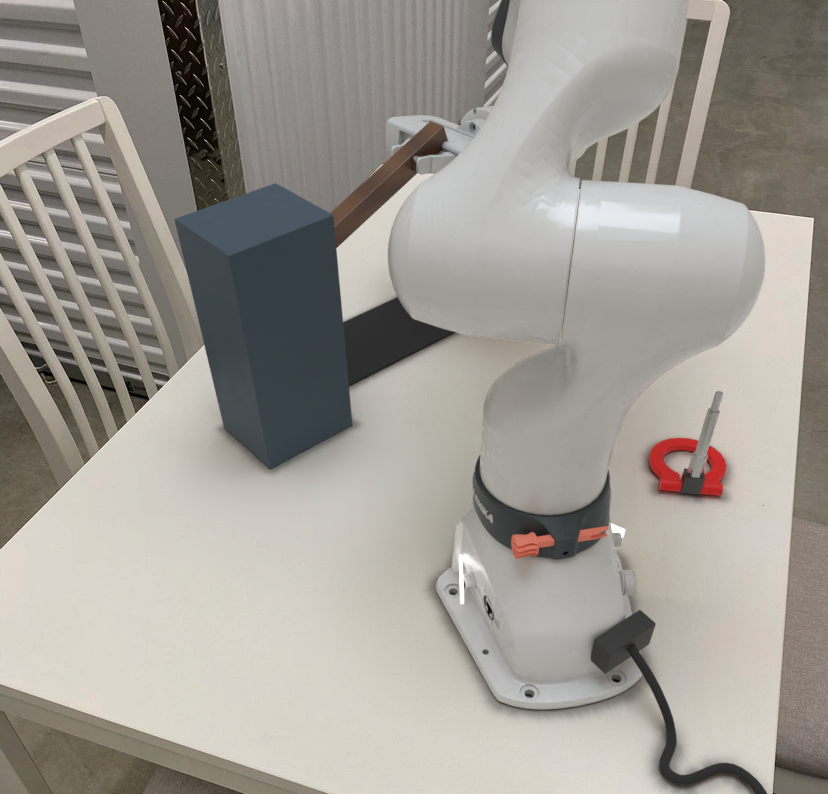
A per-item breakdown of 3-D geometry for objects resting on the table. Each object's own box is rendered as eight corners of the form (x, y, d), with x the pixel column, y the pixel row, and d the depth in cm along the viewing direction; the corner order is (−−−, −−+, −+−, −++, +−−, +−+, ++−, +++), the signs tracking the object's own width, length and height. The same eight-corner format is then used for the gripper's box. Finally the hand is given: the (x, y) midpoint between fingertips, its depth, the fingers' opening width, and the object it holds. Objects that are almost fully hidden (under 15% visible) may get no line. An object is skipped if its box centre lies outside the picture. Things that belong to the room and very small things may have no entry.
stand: (304, 388, 104) (275, 182, 85) (352, 425, 99) (333, 214, 80) (223, 428, 99) (173, 218, 80) (270, 469, 94) (228, 255, 75)
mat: (399, 298, 118) (399, 296, 118) (455, 332, 112) (455, 329, 112) (285, 351, 110) (285, 348, 110) (339, 391, 104) (339, 388, 103)
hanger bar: (436, 138, 98) (420, 90, 93) (449, 143, 97) (434, 95, 91) (304, 259, 95) (281, 216, 90) (317, 266, 94) (293, 224, 89)
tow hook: (646, 442, 96) (650, 493, 90) (670, 345, 87) (676, 393, 81) (719, 448, 95) (728, 500, 89) (751, 351, 86) (764, 401, 80)
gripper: (436, 97, 106) (351, 108, 99) (553, 141, 95) (466, 156, 88) (431, 149, 110) (349, 163, 103) (542, 197, 99) (459, 216, 92)
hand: (404, 160), depth 95 cm, fingers closed on hanger bar, 2 cm apart
